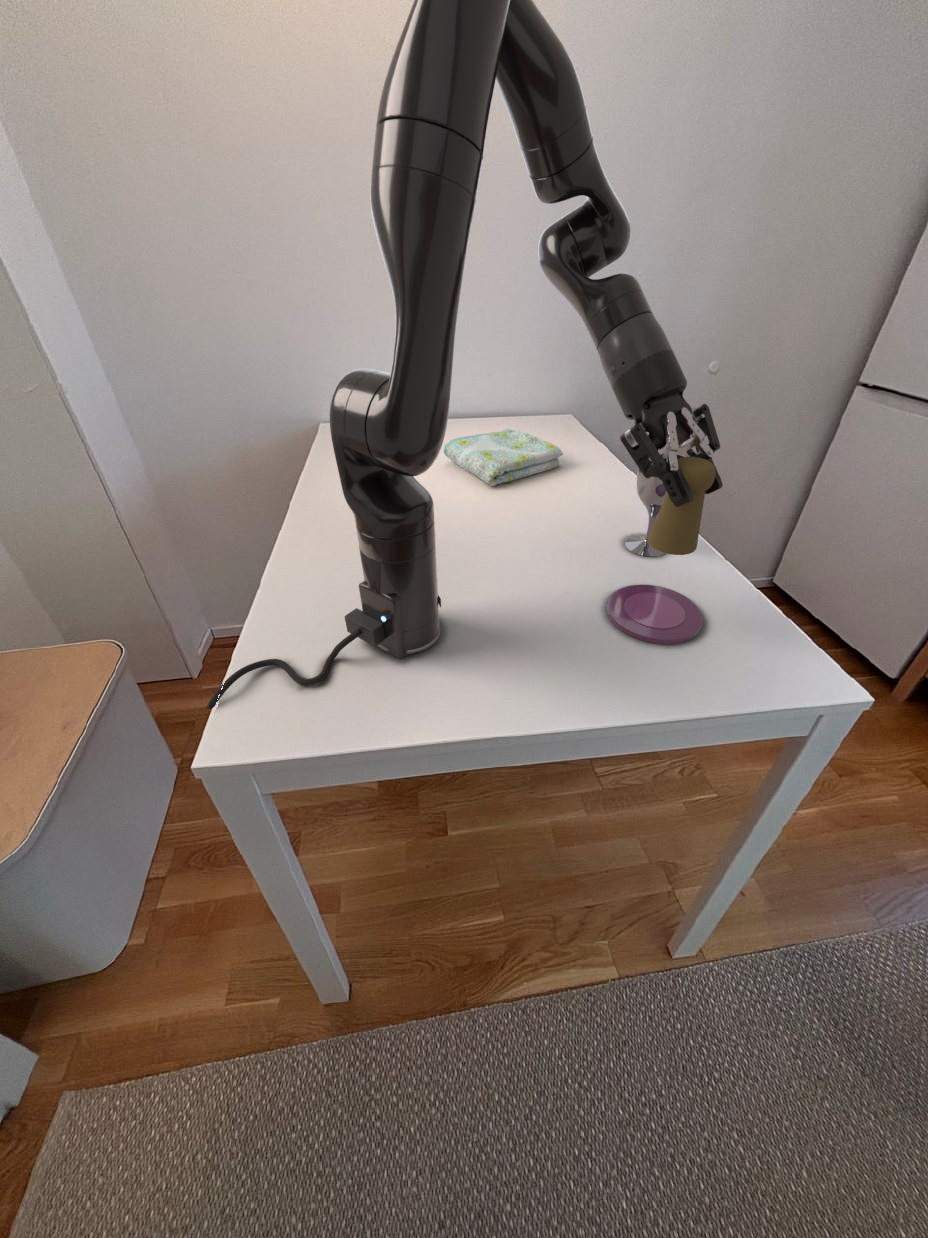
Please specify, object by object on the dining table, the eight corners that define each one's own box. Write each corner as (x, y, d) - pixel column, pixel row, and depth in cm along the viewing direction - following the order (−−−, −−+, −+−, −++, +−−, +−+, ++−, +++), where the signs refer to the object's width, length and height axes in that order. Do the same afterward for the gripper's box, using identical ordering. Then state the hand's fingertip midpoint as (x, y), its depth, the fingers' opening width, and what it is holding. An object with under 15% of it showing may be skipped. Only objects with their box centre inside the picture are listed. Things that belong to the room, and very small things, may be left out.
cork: (700, 557, 64) (727, 472, 57) (649, 552, 65) (670, 468, 58) (693, 533, 69) (718, 452, 62) (646, 529, 70) (665, 449, 63)
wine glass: (662, 562, 85) (686, 475, 76) (615, 549, 88) (633, 465, 79) (675, 542, 90) (698, 458, 81) (630, 530, 94) (648, 448, 84)
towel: (564, 466, 117) (567, 444, 114) (488, 489, 107) (489, 466, 104) (514, 443, 129) (515, 422, 125) (442, 462, 119) (441, 440, 116)
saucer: (683, 657, 67) (685, 652, 66) (591, 620, 73) (592, 615, 73) (712, 608, 75) (714, 603, 75) (627, 579, 81) (629, 574, 81)
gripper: (621, 356, 55) (687, 500, 55) (703, 339, 61) (762, 468, 61) (578, 396, 62) (637, 525, 61) (656, 377, 68) (710, 494, 68)
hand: (699, 496), depth 61 cm, fingers closed on cork, 5 cm apart
